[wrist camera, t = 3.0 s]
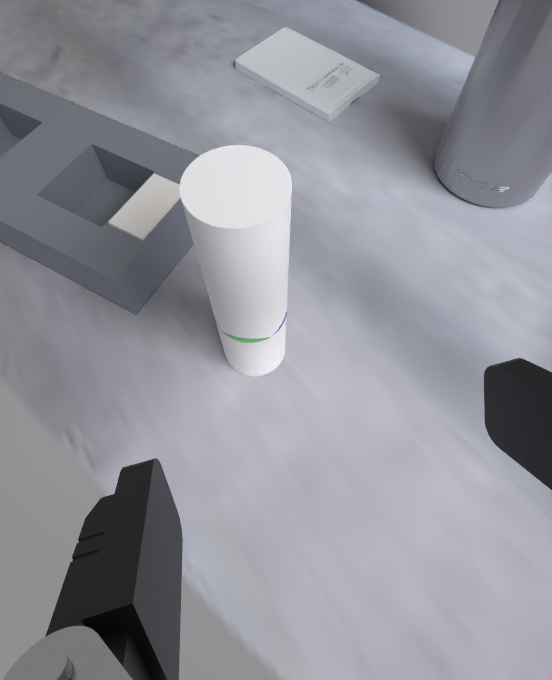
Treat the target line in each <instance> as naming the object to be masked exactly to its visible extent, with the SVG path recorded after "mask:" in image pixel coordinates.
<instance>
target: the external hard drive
mask: <svg viewBox="0 0 552 680" xmlns="http://www.w3.org/2000/svg"><path fill="white" fill-rule="evenodd" d="M235 67H236V68H235V69H236V70H237V71H239V72H241V73H242V74H244V75H246V76H248V77H249V78H251V79H253V80H255V81H256V82H258V83H260V84H262V85H264V86H265V87H267V88H269V89H271V90H272V91H274V92H276V93H278V94H279V95H281V96H283V97H285V98H287V99H288V100H290V101H292V102H294V103H295V104H297V105H299V106H301V107H302V108H304V109H306V110H308V111H309V112H311V113H313V114H315V115H316V116H318V117H320V118H322V119H323V120H325V121H327V122H330V121H332V120H333V119H334V118H335V117H336V116H338V115H339V114H340V113H341V112H343V111H344V110H345V109H346V108H347V107H349V106H350V104H351V102H352V101H353V100H355V99H356V98H360V97H361V96H362V95H363V94H365V93H366V92H367V91H368V90H370V89H371V88H372V87H373V86H375V85H376V84H377V83H378V82H379V78H380V75H379V74H377V73H375V72H373V71H371V70H369V69H367V68H365V67H363V66H362V65H360V64H358V63H356V62H354V61H352V60H350V59H348V58H346V57H344V56H342V55H340V54H339V53H337V52H335V51H333V50H331V49H329V48H327V47H325V46H323V45H321V44H319V43H317V42H315V41H313V40H311V39H309V38H307V37H305V36H303V35H301V34H300V33H298V32H296V31H294V30H292V29H290V28H288V27H284V28H282V29H280V30H279V31H277V32H276V33H274V34H273V35H271V36H270V37H268V38H267V39H265V40H263V41H262V42H260V43H259V44H257V45H256V46H254V47H253V48H251V49H249V50H248V51H246V52H245V53H243V54H242V55H240V56H239V57H238V58H237V59H236V60H235Z"/></svg>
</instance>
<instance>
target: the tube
mask: <svg viewBox="0 0 552 680" xmlns="http://www.w3.org/2000/svg"><path fill="white" fill-rule="evenodd" d="M179 189H180V197H181V201H182V204H183V208H184V211H185V215H186V218H187V222H188V225H189V229H190V232H191V236H192V239H193V243H194V246H195V250H196V254H197V257H198V261H199V264H200V268H201V271H202V275H203V278H204V282H205V285H206V289H207V292H208V296H209V299H210V303H211V306H212V310H213V314H214V317H215V321H216V324H217V328H218V331H219V335H220V338H221V342H222V345H223V349H224V352H225V356H226V359H227V361H228V362H229V364H230V365H231V366H232V368H233V369H235V370H236V371H237V372H239V373H242V374H244V375H248V376H260V375H264V374H267V373H269V372H271V371H273V370H274V369H275V368H276V367H277V366H278V365H279V364H280V363H281V361H282V359H283V357H284V353H285V336H286V313H287V292H288V268H289V244H290V220H291V195H292V180H291V176H290V173H289V171H288V169H287V167H286V166H285V165H284V163H283V162H282V161H281V160H280V159H278V158H277V157H276V156H275V155H273V154H271V153H269V152H268V151H265V150H263V149H260V148H257V147H251V146H245V145H232V146H224V147H220V148H216V149H213V150H211V151H208V152H206V153H204V154H202V155H201V156H199V157H198V158H196V159H195V160H194V161H193V162H192V163H191V164H190V165H189V166H188V167H187V168H186V170H185V171H184V173H183V175H182V177H181V181H180V186H179Z"/></svg>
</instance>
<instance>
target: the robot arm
mask: <svg viewBox="0 0 552 680" xmlns="http://www.w3.org/2000/svg"><path fill="white" fill-rule="evenodd" d="M434 166H435V170H436V173H437V176H438V177H439V179H440V180H441V182H442V183H443V184H444V185H445V186H446V187H447V188H448V189H449V190H450V191H451V192H453V193H454V194H456V195H457V196H459V197H460V198H462V199H464V200H467V201H469V202H471V203H475V204H478V205H481V206H487V207H509V206H515V205H518V204H520V203H523V202H525V201H527V200H528V199H529V198H531V197H532V196H533V195H534V194H535V193H536V191H537V190H538V189H539V187H540V186H541V185H542V183H543V182H544V181H545V179H546V178H547V177H548V176H549V174H550V173H551V172H552V0H499V2H498V4H497V6H496V9H495V11H494V14H493V16H492V19H491V21H490V24H489V26H488V29H487V31H486V33H485V35H484V38H483V40H482V43H481V45H480V47H479V50H478V52H477V55H476V57H475V60H474V62H473V64H472V67H471V69H470V72H469V74H468V76H467V79H466V81H465V84H464V86H463V88H462V91H461V93H460V96H459V98H458V100H457V103H456V105H455V108H454V110H453V112H452V114H451V117H450V119H449V122H448V124H447V127H446V129H445V131H444V134H443V136H442V139H441V141H440V143H439V146H438V148H437V151H436V153H435V158H434ZM484 404H485V425H486V429H487V432H488V434H489V436H490V438H491V439H492V441H493V442H494V443H495V445H496V446H498V447H499V448H500V449H501V450H502V451H504V452H505V453H506V454H507V455H509V456H510V457H511V458H512V459H514V460H515V461H516V462H517V463H519V464H520V465H521V466H522V467H524V468H525V469H526V470H527V471H529V472H530V473H531V474H532V475H534V476H535V477H536V478H537V479H539V480H540V481H541V482H542V483H544V484H545V485H546V486H547V487H549V488H550V489H551V490H552V372H550V371H548V370H545V369H543V368H541V367H539V366H537V365H535V364H533V363H531V362H529V361H526V360H524V359H521V358H517V359H513V360H510V361H506V362H503V363H499V364H495V365H492V366H489V367H488V368H487V369H486V370H485V373H484ZM78 540H79V543H78V544H77V545H76V548H75V551H74V553H73V556H72V558H73V562H71V563H70V566H69V568H68V572H67V574H66V578H65V580H64V583H63V586H62V589H61V592H60V595H59V599H58V601H57V604H56V607H55V610H54V613H53V616H52V619H51V622H50V625H49V628H48V631H47V634H46V636H45V638H43V639H42V640H40V641H39V642H37V643H36V644H35V645H33V646H32V647H31V648H30V649H29V650H28V651H27V652H25V653H24V654H23V655H22V656H21V657H20V658H19V659H18V661H17V662H16V663H15V664H14V665H13V666H12V668H11V669H10V670H9V672H8V673H7V674H6V676H5V677H4V679H3V680H179V650H180V613H181V578H182V529H181V523H180V518H179V515H178V511H177V508H176V506H175V503H174V500H173V497H172V494H171V492H170V489H169V486H168V483H167V480H166V477H165V475H164V472H163V469H162V466H161V464H160V462H159V460H158V459H152V460H148V461H145V462H141V463H138V464H134V465H130V466H127V467H123V468H122V469H121V472H120V475H119V479H118V483H117V487H116V490H115V494H113V495H110V496H106V497H103V498H101V499H100V500H99V501H98V503H97V504H96V505H95V507H94V508H93V509H92V511H91V512H90V513H89V514H88V516H87V517H86V518H85V521H84V524H83V527H82V530H81V533H80V536H79V539H78Z"/></svg>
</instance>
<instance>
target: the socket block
mask: <svg viewBox="0 0 552 680" xmlns="http://www.w3.org/2000/svg"><path fill="white" fill-rule="evenodd" d="M198 157H199V155H197V154H195V153H192V152H190V151H187V150H185V149H183V148H180V147H178V146H175V145H173V144H171V143H168V142H166V141H164V140H161V139H159V138H156V137H154V136H152V135H149V134H147V133H144V132H142V131H140V130H137V129H135V128H132V127H130V126H128V125H125V124H123V123H120V122H118V121H116V120H113V119H111V118H108V117H106V116H104V115H101V114H99V113H96V112H94V111H92V110H89V109H87V108H84V107H82V106H80V105H77V104H75V103H73V102H70V101H68V100H65V99H63V98H61V97H58V96H56V95H53V94H51V93H49V92H46V91H44V90H41V89H39V88H37V87H34V86H32V85H29V84H27V83H25V82H22V81H20V80H17V79H15V78H13V77H10V76H8V75H5V74H3V73H1V72H0V242H2V243H4V244H5V245H7V246H9V247H11V248H13V249H15V250H17V251H19V252H20V253H22V254H24V255H26V256H28V257H30V258H32V259H33V260H35V261H37V262H39V263H41V264H43V265H45V266H46V267H48V268H50V269H52V270H54V271H56V272H58V273H59V274H61V275H63V276H65V277H67V278H69V279H71V280H72V281H74V282H76V283H78V284H80V285H82V286H84V287H85V288H87V289H89V290H91V291H93V292H95V293H97V294H98V295H100V296H102V297H104V298H106V299H108V300H110V301H111V302H113V303H115V304H117V305H119V306H121V307H123V308H124V309H126V310H128V311H130V312H132V313H134V314H137V313H138V311H139V310H140V309H141V308H142V306H143V305H144V304H145V303H146V302H147V300H148V299H149V298H150V297H151V295H152V294H153V293H154V292H155V290H156V289H157V288H158V287H159V286H160V284H161V283H162V282H163V281H164V279H165V278H166V277H167V276H168V274H169V273H170V272H171V271H172V269H173V268H174V267H175V266H176V265H177V263H178V262H179V261H180V260H181V258H182V257H183V256H184V255H185V253H186V252H187V251H188V250H189V248H190V247H191V246H192V245H193V244H194V243H193V239H192V236H191V232H190V229H189V225H188V222H187V218H186V215H185V211H184V208H183V204H182V201H181V197H180V189H179V186H180V181H181V177H182V175H183V173H184V171H185V170H186V168H187V167H188V166H189V165H190V164H191V163H192V162H193V161H194V160H195V159H196V158H198Z"/></svg>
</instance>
